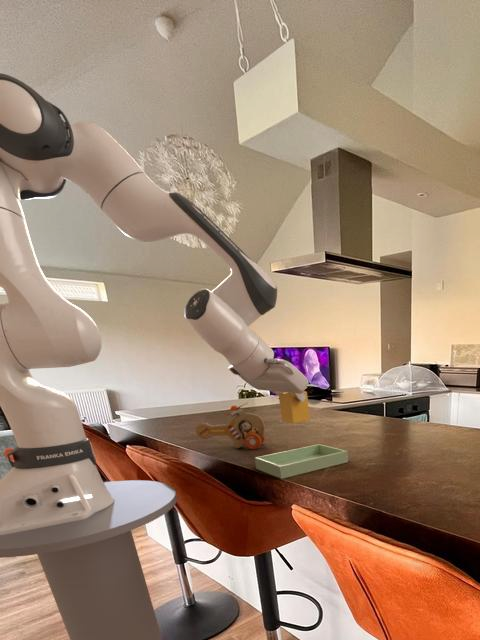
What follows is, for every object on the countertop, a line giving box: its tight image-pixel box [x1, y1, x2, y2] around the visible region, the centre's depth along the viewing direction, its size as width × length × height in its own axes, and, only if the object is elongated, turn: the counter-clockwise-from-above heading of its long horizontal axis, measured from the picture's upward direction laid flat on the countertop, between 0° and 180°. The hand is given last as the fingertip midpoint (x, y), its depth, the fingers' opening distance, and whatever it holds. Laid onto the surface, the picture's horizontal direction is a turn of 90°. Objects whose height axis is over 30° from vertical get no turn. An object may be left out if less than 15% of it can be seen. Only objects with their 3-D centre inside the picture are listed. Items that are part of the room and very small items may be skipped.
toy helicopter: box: [195, 402, 266, 450], centre depth 130 cm, size 8×21×14 cm, turn 94°
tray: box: [254, 443, 349, 480], centre depth 109 cm, size 20×13×3 cm
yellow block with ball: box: [278, 390, 311, 424], centre depth 104 cm, size 5×5×11 cm
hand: (295, 398), depth 105 cm, fingers closed on yellow block with ball, 5 cm apart
